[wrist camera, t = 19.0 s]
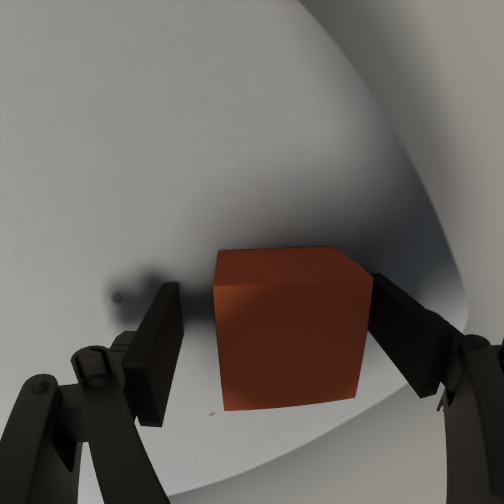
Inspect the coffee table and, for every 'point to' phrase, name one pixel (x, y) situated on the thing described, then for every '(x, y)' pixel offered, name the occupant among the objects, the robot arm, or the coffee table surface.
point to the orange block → (289, 326)
